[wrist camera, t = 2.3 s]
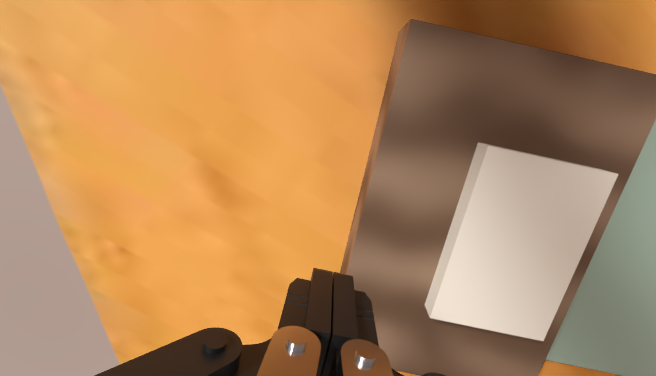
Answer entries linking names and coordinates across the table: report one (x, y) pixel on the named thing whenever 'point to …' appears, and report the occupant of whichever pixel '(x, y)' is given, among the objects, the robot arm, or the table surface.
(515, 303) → the white flat block
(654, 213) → the green mat
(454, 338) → the walnut deck
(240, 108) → the table surface
